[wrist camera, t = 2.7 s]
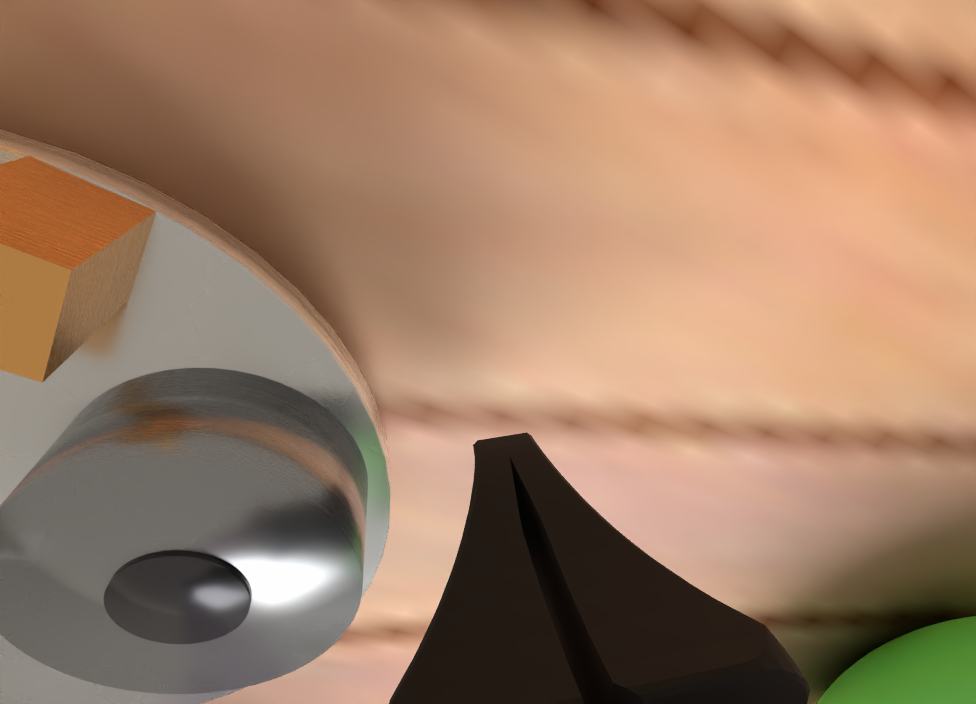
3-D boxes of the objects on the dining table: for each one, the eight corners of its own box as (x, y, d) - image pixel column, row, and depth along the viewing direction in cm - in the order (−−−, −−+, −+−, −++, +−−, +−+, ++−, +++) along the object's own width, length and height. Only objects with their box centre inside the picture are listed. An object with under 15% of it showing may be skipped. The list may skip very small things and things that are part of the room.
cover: (279, 609, 16) (254, 728, 13) (10, 522, 13) (-96, 653, 10) (422, 455, 14) (430, 558, 11) (142, 308, 11) (54, 399, 8)
